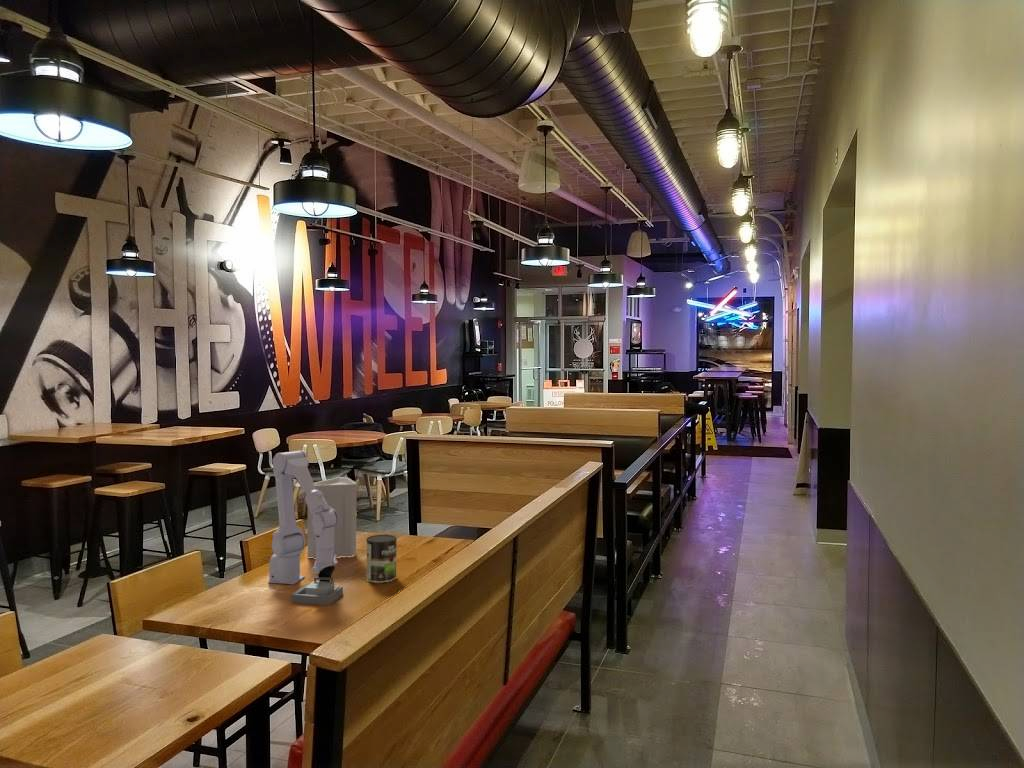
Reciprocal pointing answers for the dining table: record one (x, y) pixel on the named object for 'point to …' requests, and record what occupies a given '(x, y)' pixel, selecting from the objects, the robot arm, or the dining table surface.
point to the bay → (316, 597)
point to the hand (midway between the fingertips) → (324, 589)
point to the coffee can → (381, 558)
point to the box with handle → (320, 587)
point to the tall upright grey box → (344, 503)
